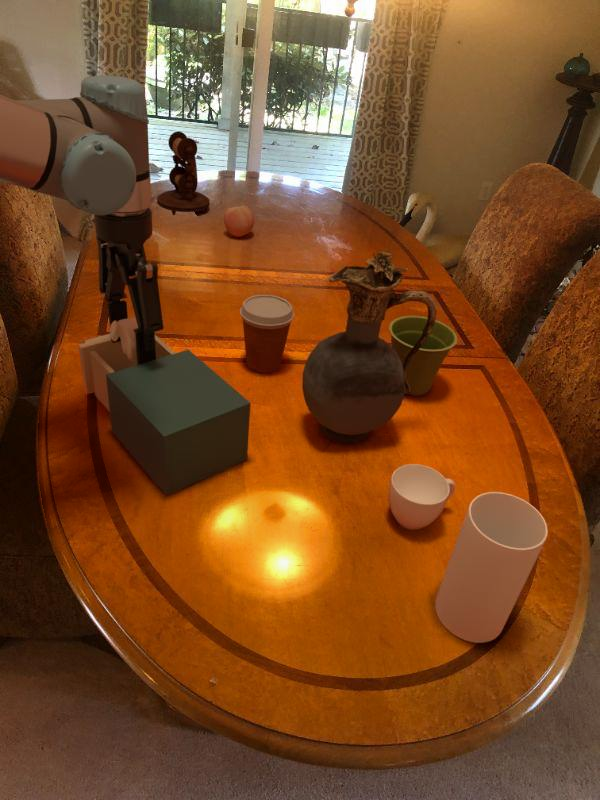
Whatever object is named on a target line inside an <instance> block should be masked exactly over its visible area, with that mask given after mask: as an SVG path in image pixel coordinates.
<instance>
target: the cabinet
mask: <svg viewBox="0 0 600 800" xmlns="http://www.w3.org/2000/svg"><path fill="white" fill-rule="evenodd" d="M106 381H107V390H108V399H109V409H110V412H109V418H110V426H111V433H112V434H113V435H114V436H115V437H116V438H117V440H118V441H119V442H120V443H121V445H122V446H123V447H124V448H125V449H126V450H127V451H128V453H129V454H130V455H131V456H132V457H133V458H134V460H135V461H136V462H137V463H138V465H139V466H140V467H141V468H142V470H144V471H145V473H146V474H147V476H149V477H150V478H151V479H152V481H153V482H154V484H156V486H157V487H158V488H159V490H161V492H162V493H163V494H164V495H165V496H166V497H167V496H169V495H172V494H174V493H176V492H178V491H181V490H183V489H185V488H187V487H190V486H192V485H194V484H196V483H199V482H201V481H203V480H205V479H207V478H210V477H212V476H214V475H217V474H219V473H221V472H223V471H225V470H228V469H230V468H232V467H234V466H237V465H239V464H241V463H243V462H247V460H248V451H249V436H250V417H251V402H250V401H249V400H248V399H247V398H246V397H244V396H243V395H242V394H241V393H240V392H238V391H237V389H235V388H234V387H233V386H232V385H231V384H229V383H228V382H227V381H226V380H225V379H223V378H222V377H221V376H220V375H219V374H218V373H217V372H215V371H214V370H213V369H212V368H210V367H209V366H208V365H207V364H206V363H205V362H203V361H202V359H200V358H199V357H198V356H197V355H196V354H195V353H193V352H192V351H191V350H190V349H185V350H181V351H179V352H175V354H172V355H168V356H165V357H162V358H159V359H155V360H152V361H149V362H145V363H142V364H139V365H136V366H132V367H129V368H126V369H123V370H119V371H116V372H113V373H109V374H106Z"/></svg>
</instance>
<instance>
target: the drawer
mask: <svg viewBox="0 0 600 800" xmlns="http://www.w3.org/2000/svg"><path fill="white" fill-rule="evenodd" d="M155 349H156V359H159V358H162V357H165V356H168V355H172V354H175V353H176V352H175V351H174V350H173V349H172V348H171V347H170V346H168V345H167V344H166V343H165V342H164V341H163V340H162V339H161V338H160V337H158V335H156V334H155ZM78 351H79V360H80V367H81V375H82V381H83V387H84V392H85V393H86V394H87V395H89V394H94V396H95V397H96V398H97V400H98V401H99V402H100V403H101V404H102V406H104V407H105V409H106V410H107V411H108V412H109V413H110V409H109V399H108V390H107V381H106V374H109V373H113V372H116V371H119V370H123V369H126V368H129V367H132V366H136V365H137V358H136V360H134V361H130V360H129V359H128V357H127V354H124V352H123V349H122V343H121V341H119V342H116V343H113V342H112V341H111V336H110V333H108V334H104V335H100V336H97V337H92V338H89V339H88V338H87V339H85V340H83V341H82V343H80V344H78Z"/></svg>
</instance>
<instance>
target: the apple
mask: <svg viewBox="0 0 600 800" xmlns="http://www.w3.org/2000/svg"><path fill="white" fill-rule="evenodd" d="M223 225H224V227H225V230H227V232H228V233H229V234H230V235H231V236H233V237H235V238H238V237H239V238H240V237H241V238H242V237H243V236H246V235H247V234H249V233H251V231H252V230H253V228H254V225H255V217H254V213H253V211H252V210H251V208H250V207H248V206H247V205H244V204H243V205H237V206H231V207H228V208H227V209H226V210H225V211H224V215H223Z"/></svg>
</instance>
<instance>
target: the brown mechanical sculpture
mask: <svg viewBox="0 0 600 800" xmlns="http://www.w3.org/2000/svg"><path fill="white" fill-rule="evenodd" d="M168 147H169V149H170V150H171V152H173V154H174V155H173V156H172V161H173V163H174V167H173V168H171V170H170V171H169V173H168V174H169V175H168V178H169V182H170V184H171V185H173V187H174V189H171V190H166V191H164V192H162V193H160V194H158V196H157V197H156V204H157V205H158V206H159V207H160V208H162V209H165V210H168V211H171V214H172V216H175V215H176V213H177V212H178V213H193V212H200V211H203V212H204V213H207V211H208V208H209V207H210V205H211V203H210V198H208V196H206V195H204V194H203V193H201V192H199V191H197V189H198V185H199V184H198V183H199V182H198V181H199V180H198V167H197V160H196V155H197V153H198V143H197V142H196V140H194V139H193V138H191V137H188V136H187V135H186V134H185V133H184V132H182V131H174V132H173V133H171V134H170V136H169V138H168Z"/></svg>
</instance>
